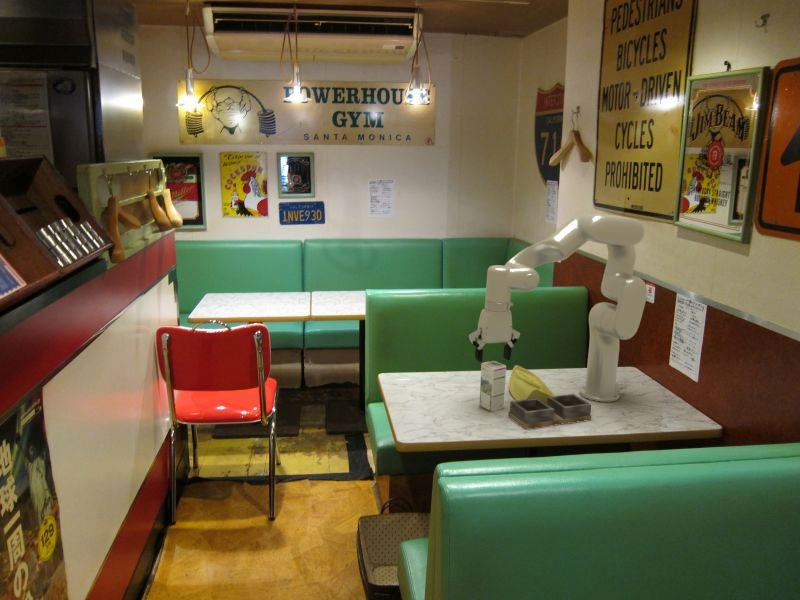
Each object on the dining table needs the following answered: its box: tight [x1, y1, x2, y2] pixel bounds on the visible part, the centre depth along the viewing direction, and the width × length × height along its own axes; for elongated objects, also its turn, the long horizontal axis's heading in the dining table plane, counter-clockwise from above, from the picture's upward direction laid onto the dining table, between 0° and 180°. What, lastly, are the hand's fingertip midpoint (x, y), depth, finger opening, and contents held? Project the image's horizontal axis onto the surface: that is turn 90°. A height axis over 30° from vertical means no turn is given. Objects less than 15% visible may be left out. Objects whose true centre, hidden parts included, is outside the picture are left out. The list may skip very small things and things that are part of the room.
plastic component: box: [508, 365, 556, 404], centre depth 227 cm, size 20×7×10 cm
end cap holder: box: [507, 393, 592, 430], centre depth 207 cm, size 23×10×5 cm, turn 110°
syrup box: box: [479, 360, 507, 412], centre depth 214 cm, size 6×6×14 cm
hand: (492, 359), depth 211 cm, fingers open, 9 cm apart
